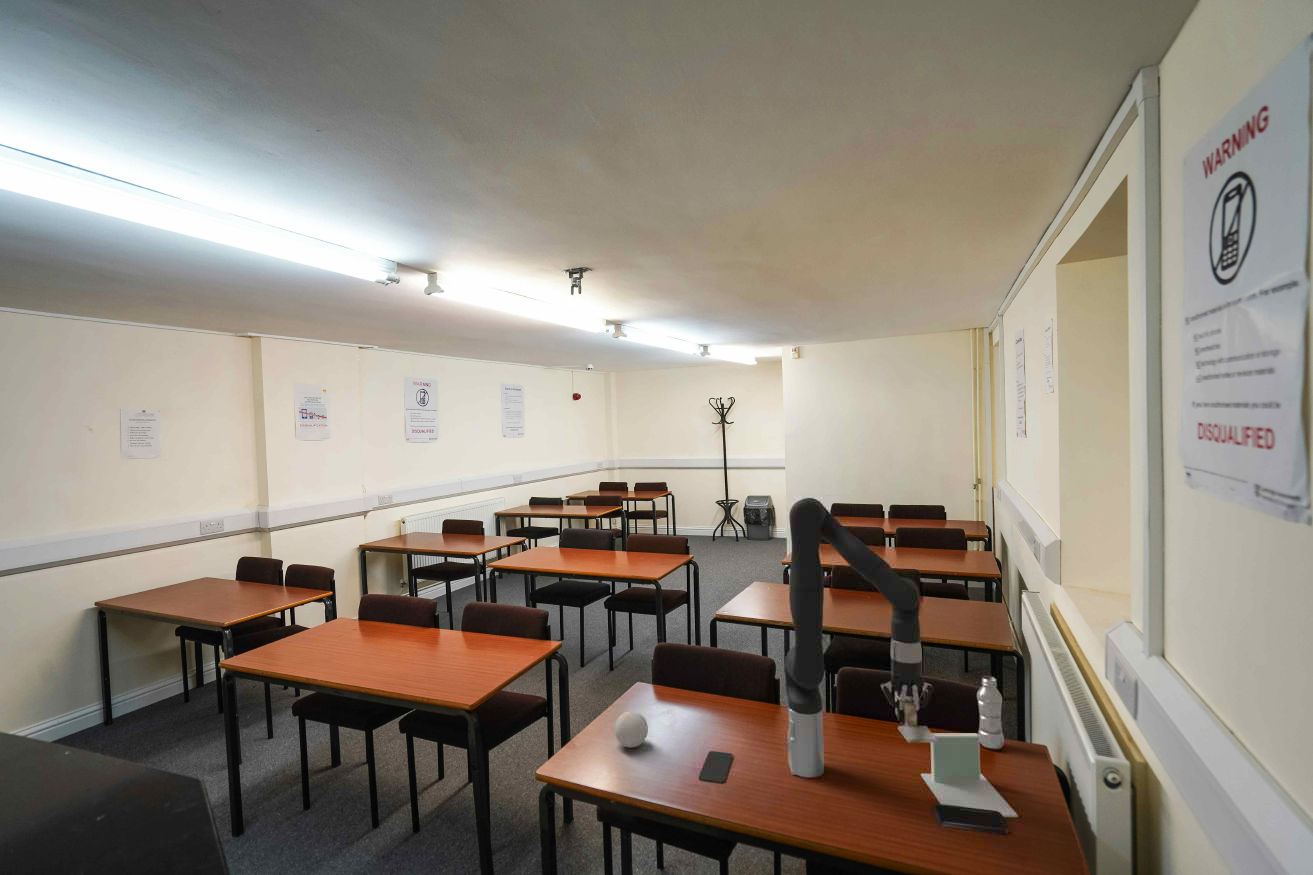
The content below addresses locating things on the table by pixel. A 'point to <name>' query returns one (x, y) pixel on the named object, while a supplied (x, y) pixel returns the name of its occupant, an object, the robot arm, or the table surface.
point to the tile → (955, 757)
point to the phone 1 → (716, 767)
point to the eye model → (631, 729)
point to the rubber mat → (969, 795)
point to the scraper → (914, 725)
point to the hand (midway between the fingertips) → (908, 722)
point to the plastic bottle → (990, 714)
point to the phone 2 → (971, 818)
